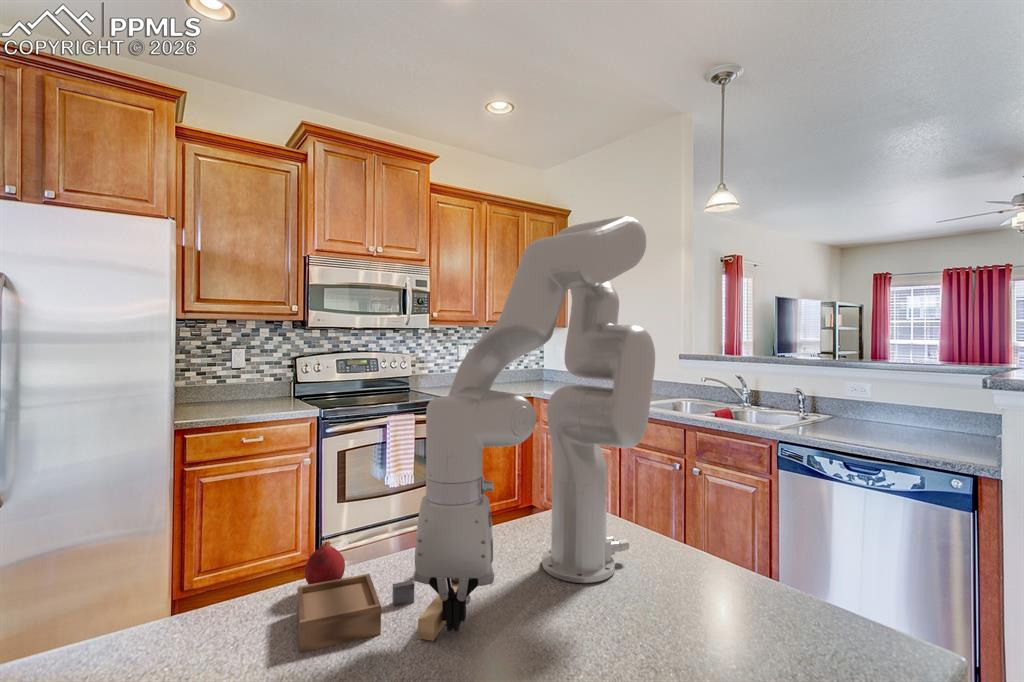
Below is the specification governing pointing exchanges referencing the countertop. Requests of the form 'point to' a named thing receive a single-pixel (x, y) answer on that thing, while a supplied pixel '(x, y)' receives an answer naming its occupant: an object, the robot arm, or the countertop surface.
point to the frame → (410, 592)
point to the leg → (432, 618)
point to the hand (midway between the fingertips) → (454, 625)
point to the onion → (324, 565)
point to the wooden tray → (337, 612)
